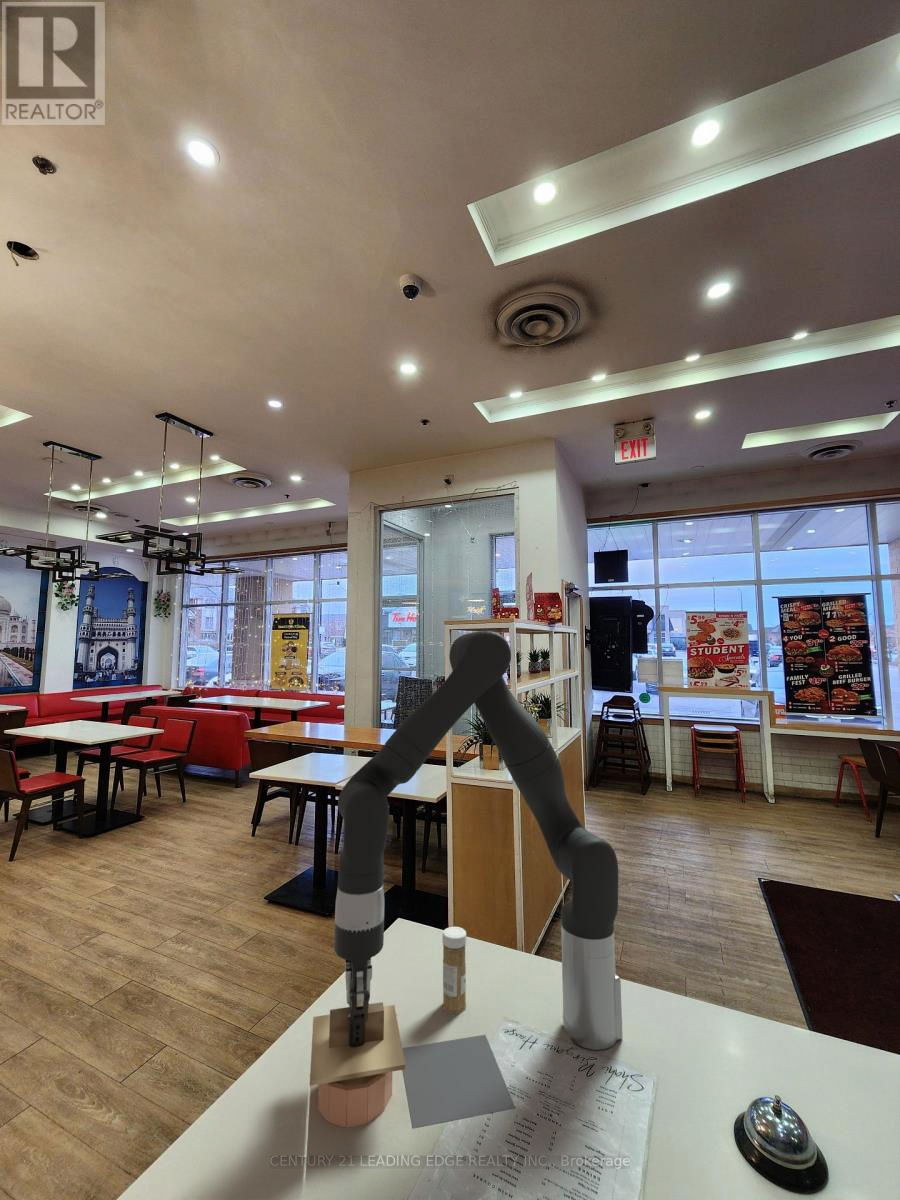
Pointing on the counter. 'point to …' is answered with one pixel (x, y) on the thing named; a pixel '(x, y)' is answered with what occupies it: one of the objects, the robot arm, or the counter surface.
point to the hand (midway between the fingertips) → (356, 1038)
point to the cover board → (345, 1062)
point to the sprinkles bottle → (454, 970)
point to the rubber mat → (453, 1081)
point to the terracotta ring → (355, 1099)
